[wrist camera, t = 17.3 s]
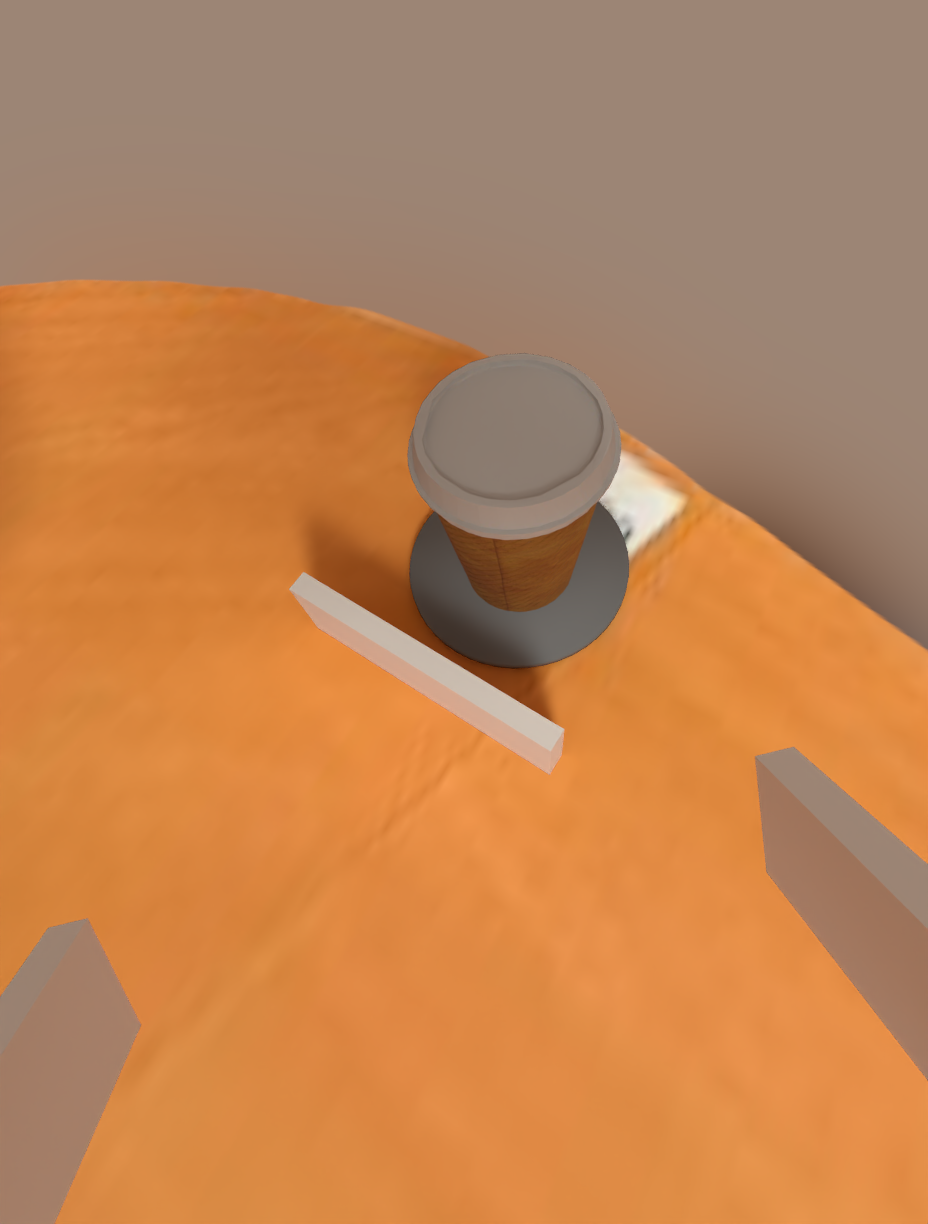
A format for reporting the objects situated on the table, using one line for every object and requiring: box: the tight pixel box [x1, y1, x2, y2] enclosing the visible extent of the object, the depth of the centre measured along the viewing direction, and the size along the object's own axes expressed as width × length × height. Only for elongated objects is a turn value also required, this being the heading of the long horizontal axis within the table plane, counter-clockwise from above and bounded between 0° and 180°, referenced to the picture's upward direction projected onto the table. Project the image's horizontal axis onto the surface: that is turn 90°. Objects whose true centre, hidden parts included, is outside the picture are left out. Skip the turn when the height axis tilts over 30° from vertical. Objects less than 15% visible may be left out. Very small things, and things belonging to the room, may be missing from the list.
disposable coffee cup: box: [408, 353, 621, 612], centre depth 34 cm, size 10×10×12 cm
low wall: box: [289, 572, 564, 775], centre depth 35 cm, size 16×1×5 cm, turn 56°
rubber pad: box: [410, 502, 629, 668], centre depth 39 cm, size 13×13×1 cm
